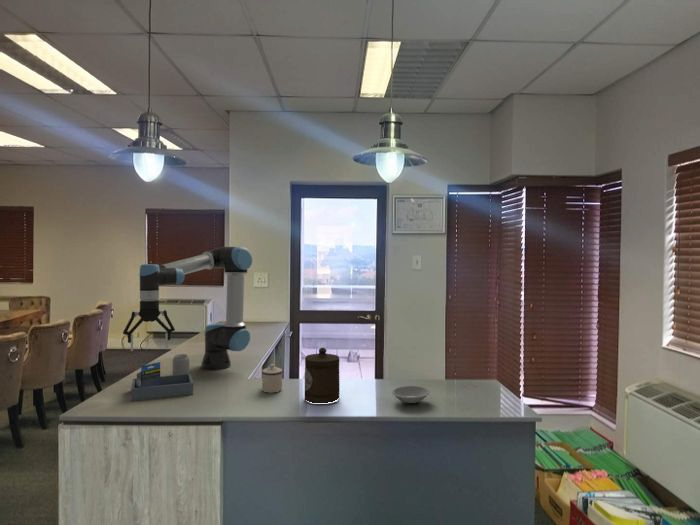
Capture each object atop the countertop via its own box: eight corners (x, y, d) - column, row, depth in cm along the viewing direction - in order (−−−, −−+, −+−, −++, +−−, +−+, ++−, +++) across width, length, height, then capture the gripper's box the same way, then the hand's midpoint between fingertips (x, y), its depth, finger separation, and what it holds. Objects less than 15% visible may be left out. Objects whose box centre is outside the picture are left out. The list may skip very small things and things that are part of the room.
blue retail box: (155, 388, 193) (155, 360, 193) (160, 389, 191) (160, 361, 191) (136, 393, 186) (136, 364, 185) (141, 394, 183) (141, 365, 183)
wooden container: (306, 393, 192) (307, 344, 192) (340, 394, 192) (341, 344, 192) (302, 405, 178) (302, 351, 177) (338, 406, 177) (339, 352, 177)
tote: (190, 384, 203) (190, 373, 203) (193, 394, 188) (193, 383, 188) (132, 390, 193) (132, 378, 193) (131, 401, 178) (131, 389, 178)
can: (183, 382, 205) (183, 357, 204) (169, 381, 206) (169, 356, 206) (192, 378, 212) (192, 353, 212) (178, 377, 213) (178, 353, 213)
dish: (410, 394, 194) (410, 383, 193) (437, 402, 183) (437, 391, 183) (383, 403, 181) (384, 391, 181) (411, 413, 171) (411, 400, 171)
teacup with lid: (286, 390, 196) (286, 364, 196) (269, 395, 189) (269, 368, 189) (270, 384, 204) (271, 360, 204) (254, 388, 198) (254, 363, 198)
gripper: (116, 302, 179) (116, 353, 179) (180, 299, 189) (180, 348, 190) (117, 300, 186) (117, 349, 186) (179, 298, 196) (179, 344, 197)
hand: (149, 348), depth 188 cm, fingers open, 13 cm apart
